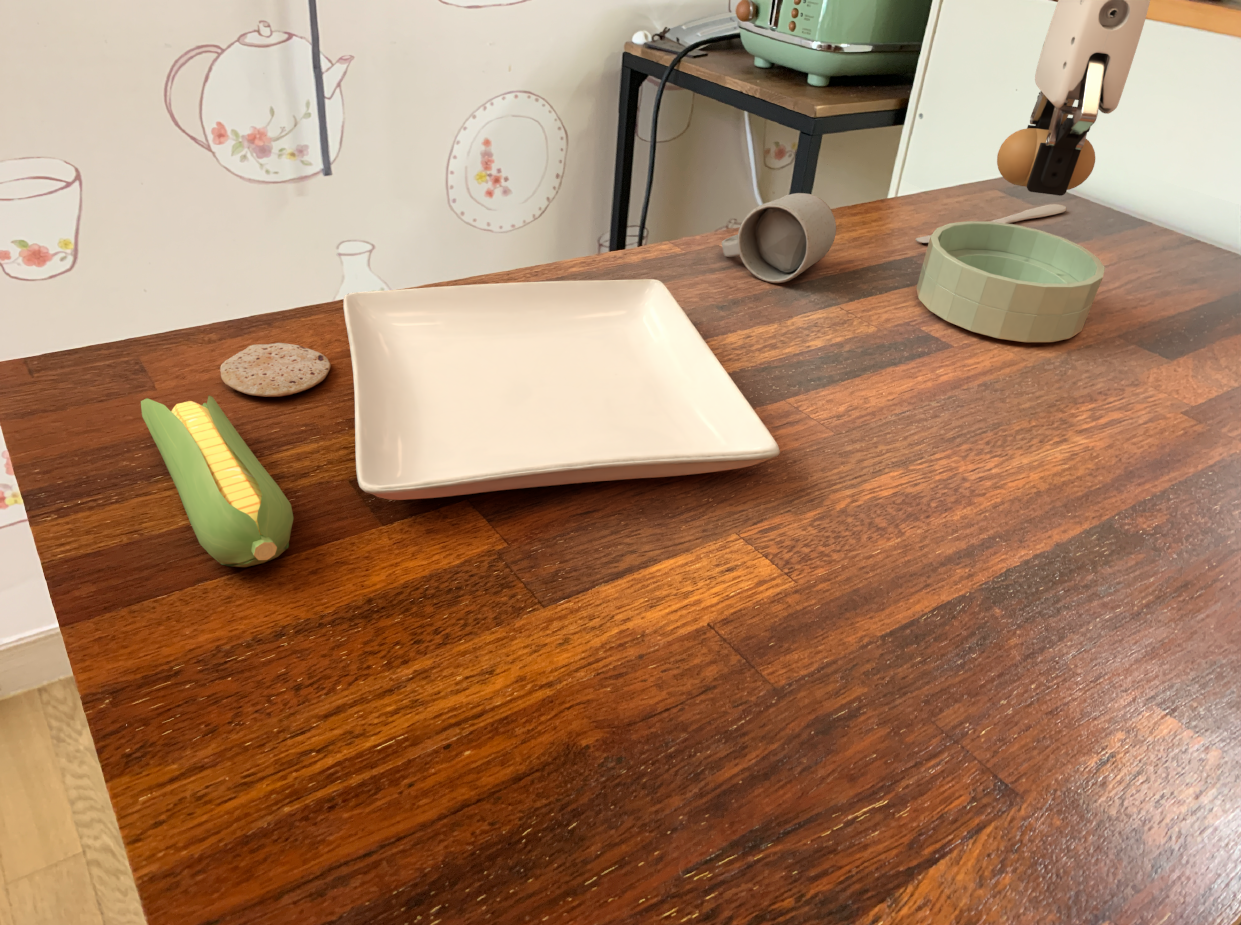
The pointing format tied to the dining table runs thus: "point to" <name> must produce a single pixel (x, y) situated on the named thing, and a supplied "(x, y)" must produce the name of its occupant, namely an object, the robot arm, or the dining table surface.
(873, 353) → the dining table surface
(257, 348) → the flatbread
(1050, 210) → the butter knife
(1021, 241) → the bowl
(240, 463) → the edible corn
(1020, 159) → the tan rounded oval piece
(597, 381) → the square plate
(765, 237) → the ceramic mug
